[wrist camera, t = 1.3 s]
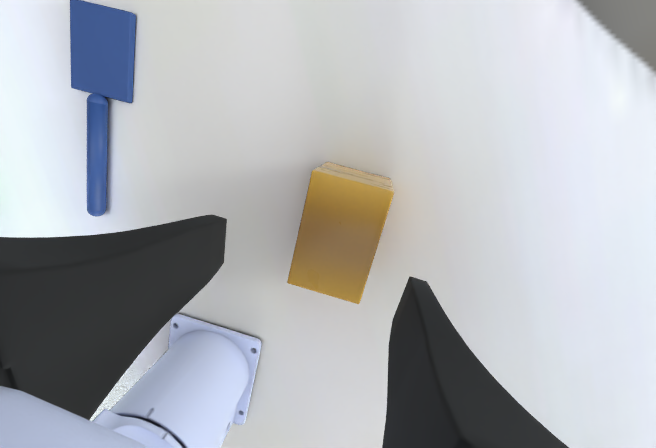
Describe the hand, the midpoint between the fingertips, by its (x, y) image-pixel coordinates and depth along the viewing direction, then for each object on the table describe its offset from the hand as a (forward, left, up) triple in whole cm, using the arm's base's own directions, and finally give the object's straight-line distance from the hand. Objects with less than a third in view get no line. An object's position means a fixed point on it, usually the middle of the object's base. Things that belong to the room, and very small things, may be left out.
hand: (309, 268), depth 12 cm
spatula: (+2, +18, -11) cm, 22 cm away
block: (-1, -1, -11) cm, 11 cm away
